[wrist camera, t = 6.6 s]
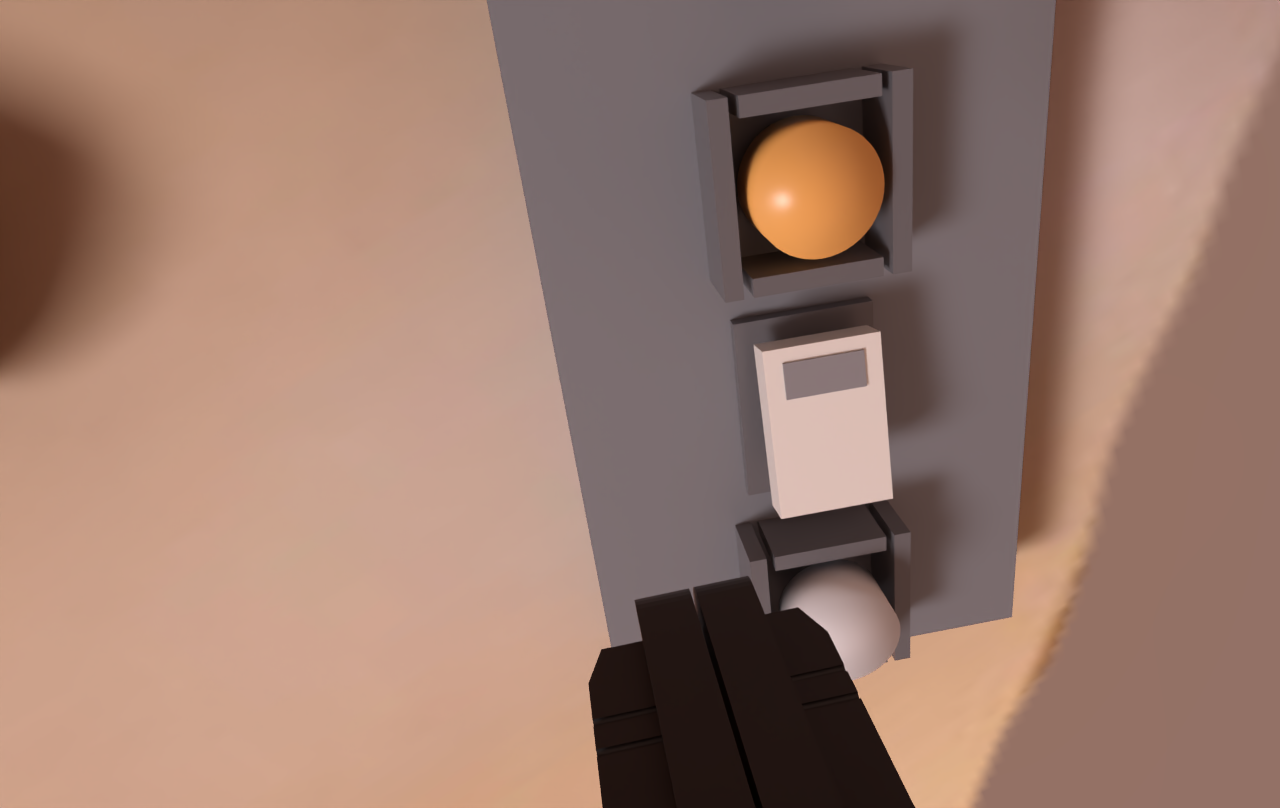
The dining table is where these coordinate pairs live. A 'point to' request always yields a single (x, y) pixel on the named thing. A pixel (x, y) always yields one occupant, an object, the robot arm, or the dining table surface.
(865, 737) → the robot arm
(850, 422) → the rocker switch
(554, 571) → the dining table surface
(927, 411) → the control panel
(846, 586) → the grey button
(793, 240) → the orange button
